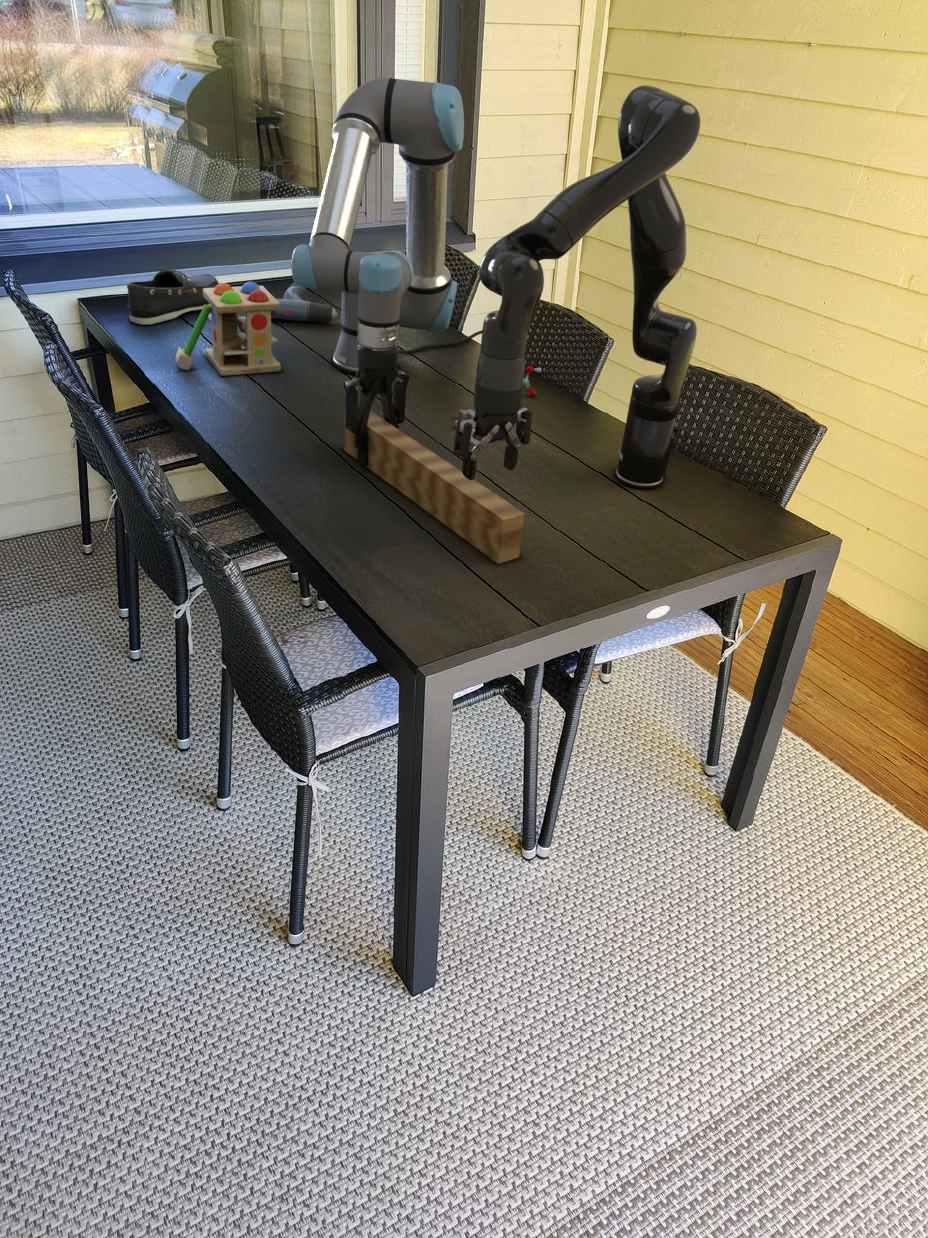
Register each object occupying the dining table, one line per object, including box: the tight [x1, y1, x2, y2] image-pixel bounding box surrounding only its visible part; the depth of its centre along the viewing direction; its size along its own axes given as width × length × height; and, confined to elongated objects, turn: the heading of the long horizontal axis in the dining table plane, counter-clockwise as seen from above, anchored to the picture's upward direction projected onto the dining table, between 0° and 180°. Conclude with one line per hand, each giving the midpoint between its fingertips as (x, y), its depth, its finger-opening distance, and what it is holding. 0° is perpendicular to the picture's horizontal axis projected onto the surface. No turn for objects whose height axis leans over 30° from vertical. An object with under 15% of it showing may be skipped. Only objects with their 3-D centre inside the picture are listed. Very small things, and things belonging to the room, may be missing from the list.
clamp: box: [454, 408, 479, 437], centre depth 210 cm, size 15×2×10 cm
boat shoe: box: [126, 268, 220, 325], centre depth 258 cm, size 13×33×10 cm, turn 147°
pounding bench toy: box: [174, 281, 282, 377], centre depth 225 cm, size 23×14×18 cm, turn 116°
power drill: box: [271, 282, 338, 322], centre depth 265 cm, size 5×19×20 cm
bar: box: [343, 410, 525, 565], centre depth 180 cm, size 50×5×8 cm, turn 37°
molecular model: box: [523, 365, 542, 397], centre depth 227 cm, size 12×10×10 cm
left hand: (374, 460), depth 193 cm, fingers closed on bar, 5 cm apart
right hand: (489, 473), depth 164 cm, fingers open, 8 cm apart
